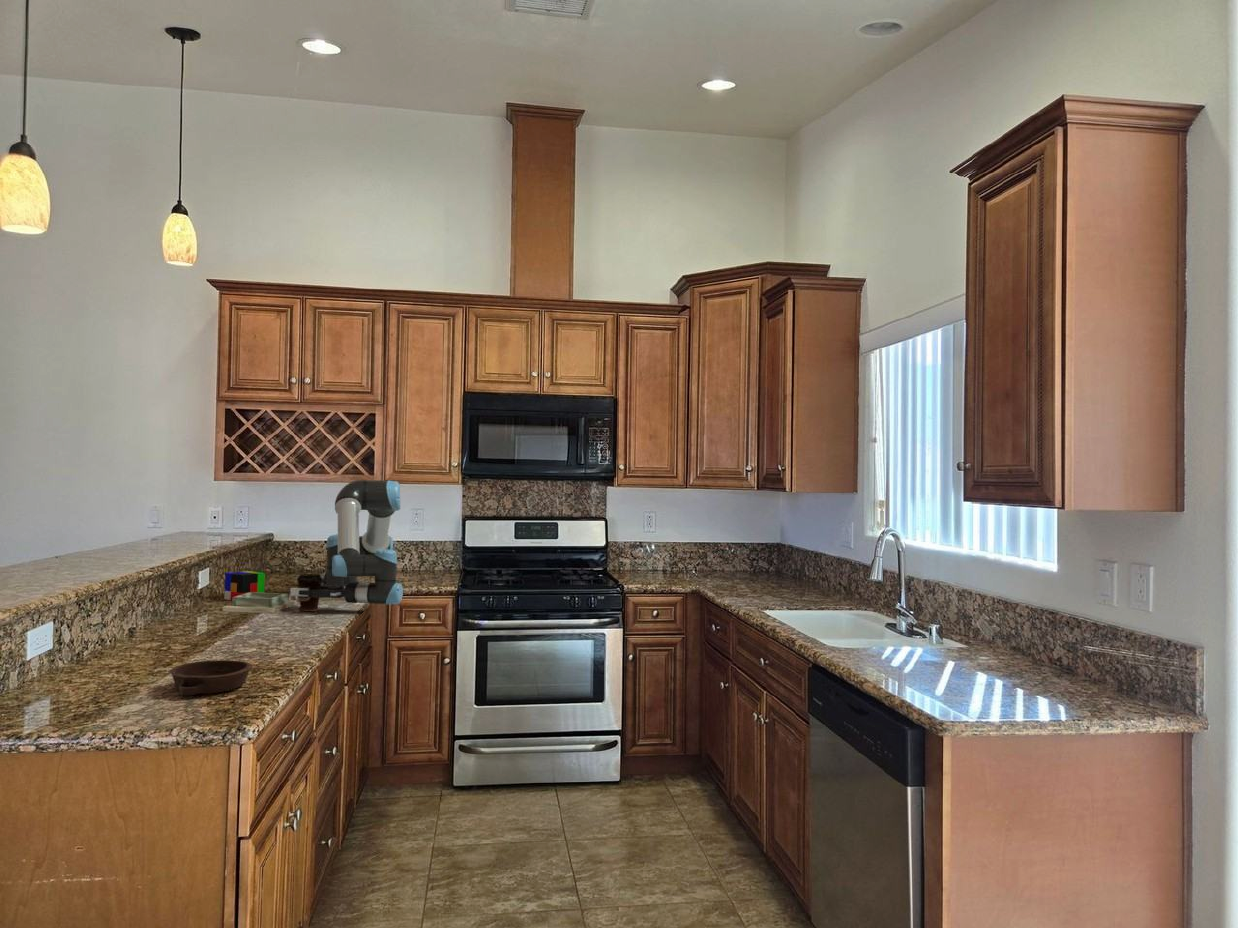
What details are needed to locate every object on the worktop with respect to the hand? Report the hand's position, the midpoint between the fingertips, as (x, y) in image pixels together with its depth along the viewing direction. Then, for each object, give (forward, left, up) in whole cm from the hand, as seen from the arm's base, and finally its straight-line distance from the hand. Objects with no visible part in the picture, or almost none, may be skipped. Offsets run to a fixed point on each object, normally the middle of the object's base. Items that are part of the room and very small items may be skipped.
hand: (295, 590), depth 317 cm
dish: (+110, +26, -7) cm, 113 cm away
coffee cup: (0, +5, -7) cm, 9 cm away
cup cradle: (-1, -13, -7) cm, 15 cm away
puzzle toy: (-20, -28, -7) cm, 35 cm away
